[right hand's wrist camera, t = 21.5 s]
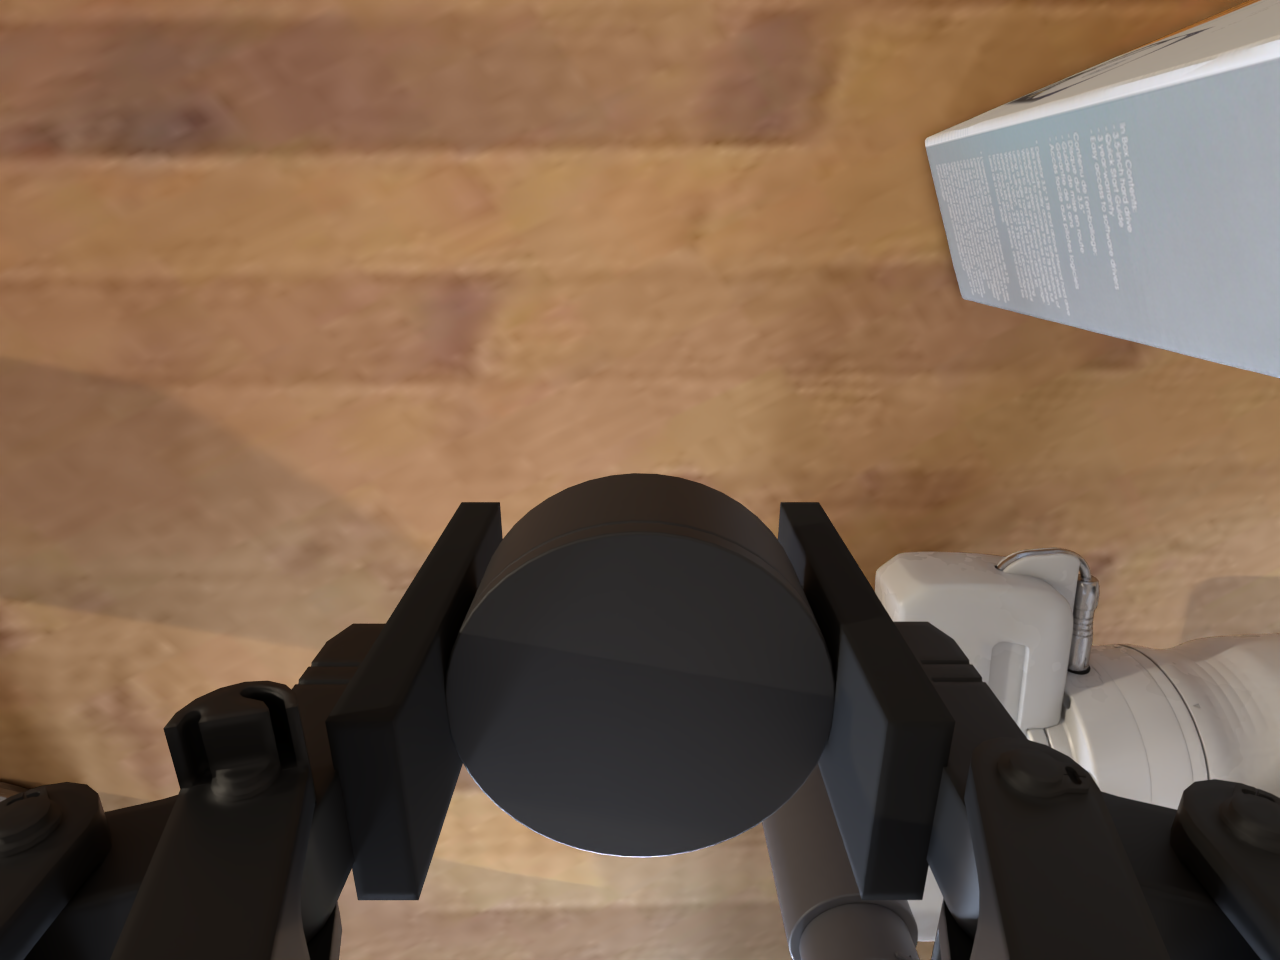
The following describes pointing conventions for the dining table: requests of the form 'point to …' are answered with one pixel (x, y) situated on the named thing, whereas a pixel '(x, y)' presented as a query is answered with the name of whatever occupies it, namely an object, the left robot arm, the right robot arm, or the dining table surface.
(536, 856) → the dining table surface
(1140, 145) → the hard drive box
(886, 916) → the dark grey cylinder
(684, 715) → the lid
